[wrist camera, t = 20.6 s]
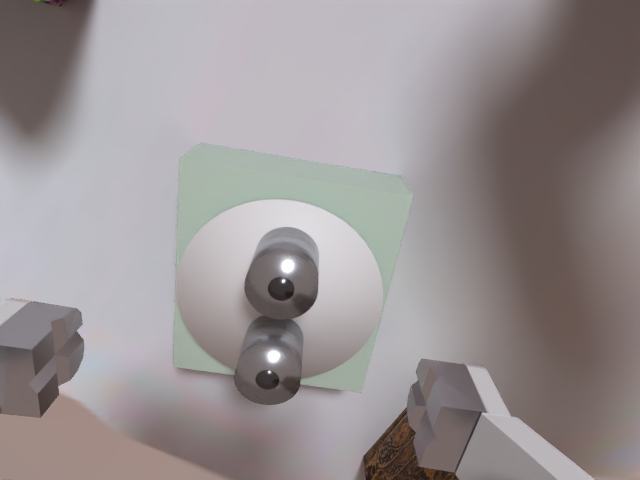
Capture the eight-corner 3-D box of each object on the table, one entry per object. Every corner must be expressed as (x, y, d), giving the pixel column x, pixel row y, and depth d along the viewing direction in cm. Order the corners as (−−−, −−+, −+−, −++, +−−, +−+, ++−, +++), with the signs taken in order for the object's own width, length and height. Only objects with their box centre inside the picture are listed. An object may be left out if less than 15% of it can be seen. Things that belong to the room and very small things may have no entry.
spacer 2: (308, 319, 35) (305, 358, 31) (299, 365, 37) (295, 409, 33) (248, 309, 35) (237, 348, 31) (243, 357, 37) (231, 400, 33)
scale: (400, 175, 38) (417, 202, 31) (355, 357, 46) (360, 410, 40) (200, 142, 37) (172, 162, 30) (191, 334, 45) (167, 384, 39)
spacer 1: (324, 232, 32) (323, 262, 28) (313, 288, 34) (311, 325, 30) (259, 221, 32) (248, 250, 27) (252, 278, 34) (240, 314, 29)
